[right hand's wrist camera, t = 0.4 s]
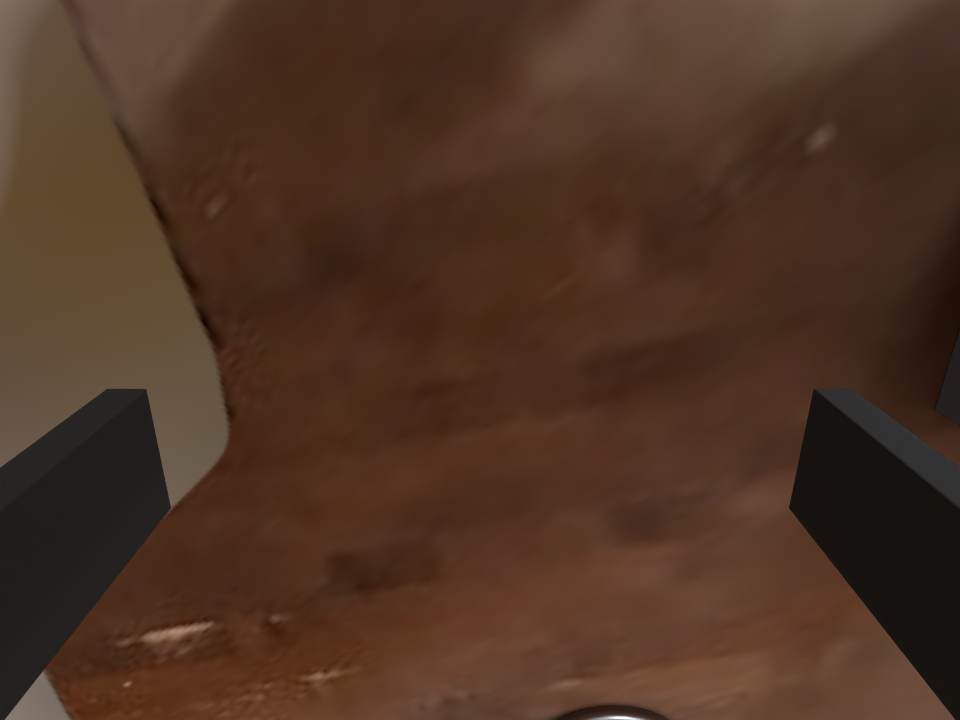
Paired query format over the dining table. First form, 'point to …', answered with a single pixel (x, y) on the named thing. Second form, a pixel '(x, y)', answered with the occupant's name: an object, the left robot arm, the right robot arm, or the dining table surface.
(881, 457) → the right robot arm
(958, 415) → the box
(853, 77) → the dining table surface
